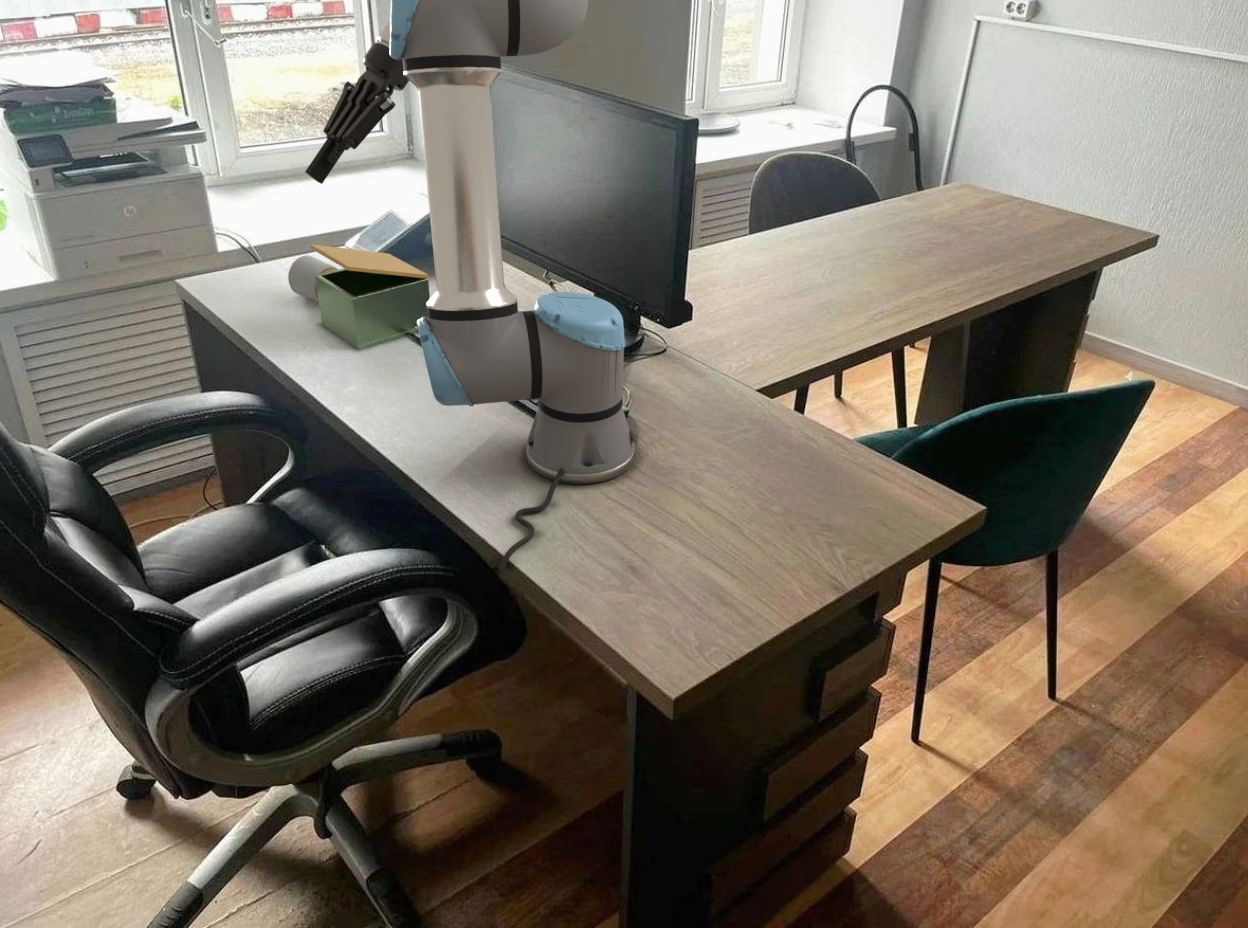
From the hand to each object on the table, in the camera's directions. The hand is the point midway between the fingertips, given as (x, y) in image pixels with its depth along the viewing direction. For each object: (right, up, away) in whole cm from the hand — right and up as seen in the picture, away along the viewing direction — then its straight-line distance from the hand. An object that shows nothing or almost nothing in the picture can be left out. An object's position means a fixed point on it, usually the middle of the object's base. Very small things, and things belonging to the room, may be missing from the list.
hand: (313, 177), depth 160 cm
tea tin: (+5, -21, +19) cm, 29 cm away
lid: (+6, -11, +13) cm, 18 cm away
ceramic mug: (-7, -14, +30) cm, 34 cm away
